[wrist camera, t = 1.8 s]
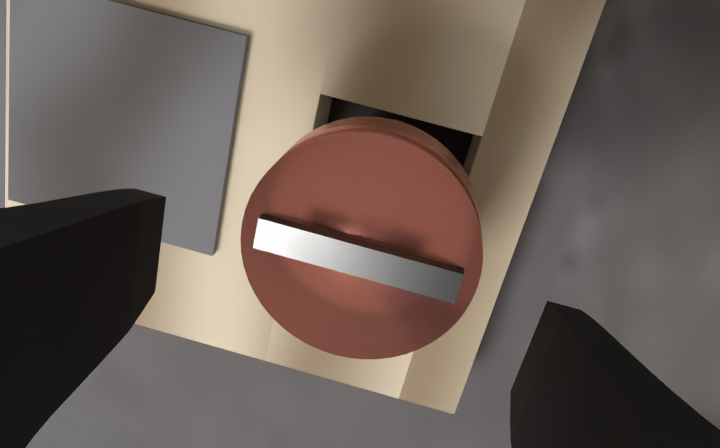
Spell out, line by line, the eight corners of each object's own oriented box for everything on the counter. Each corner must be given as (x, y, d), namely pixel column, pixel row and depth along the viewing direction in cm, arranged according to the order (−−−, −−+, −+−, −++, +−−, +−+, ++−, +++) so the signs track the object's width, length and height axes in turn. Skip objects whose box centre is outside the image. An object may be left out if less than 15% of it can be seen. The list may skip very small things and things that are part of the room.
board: (590, -19, 17) (616, -19, 14) (454, 368, 22) (454, 420, 19) (66, -151, 17) (-1, -174, 15) (50, 255, 22) (-2, 291, 20)
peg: (495, 107, 18) (518, 177, 12) (446, 260, 20) (442, 393, 14) (326, 62, 19) (257, 108, 12) (294, 219, 21) (220, 331, 14)
